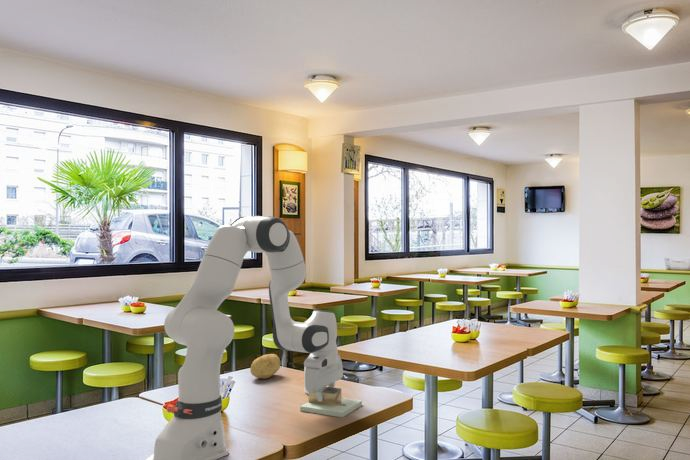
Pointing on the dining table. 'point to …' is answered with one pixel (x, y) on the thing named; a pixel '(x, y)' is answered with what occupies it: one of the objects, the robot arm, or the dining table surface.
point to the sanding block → (327, 396)
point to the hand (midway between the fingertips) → (325, 398)
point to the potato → (265, 366)
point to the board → (333, 407)
